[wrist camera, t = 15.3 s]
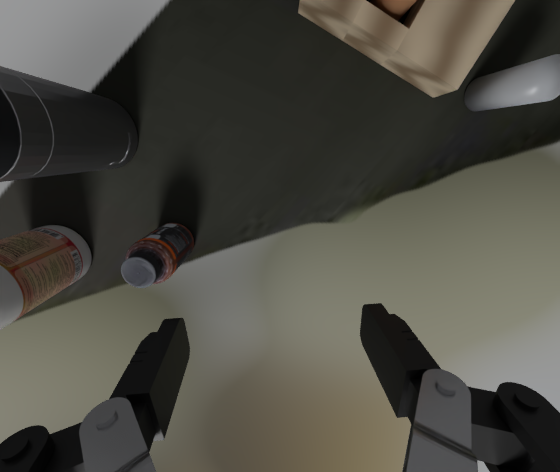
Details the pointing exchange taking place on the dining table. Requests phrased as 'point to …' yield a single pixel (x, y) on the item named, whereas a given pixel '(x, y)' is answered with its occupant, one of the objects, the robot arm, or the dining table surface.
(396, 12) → the long dowel
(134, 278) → the supplement bottle
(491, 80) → the short dowel
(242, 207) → the dining table surface
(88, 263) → the white plastic bottle
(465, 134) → the dining table surface
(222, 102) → the dining table surface
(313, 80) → the dining table surface
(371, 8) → the wooden block with hole
